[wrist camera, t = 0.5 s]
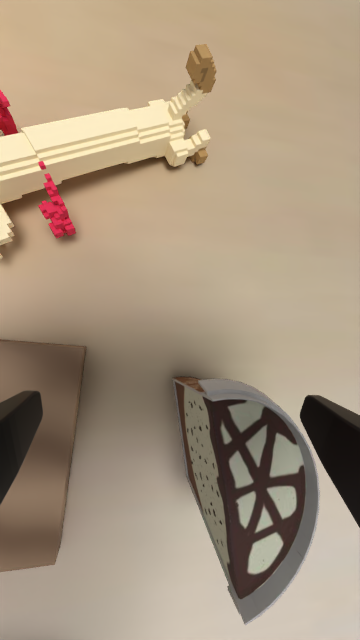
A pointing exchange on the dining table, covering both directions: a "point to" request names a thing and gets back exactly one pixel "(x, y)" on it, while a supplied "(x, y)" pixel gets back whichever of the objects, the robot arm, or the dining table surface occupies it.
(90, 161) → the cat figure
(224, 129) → the dining table surface
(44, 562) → the ticket board
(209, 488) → the food container
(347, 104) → the dining table surface
